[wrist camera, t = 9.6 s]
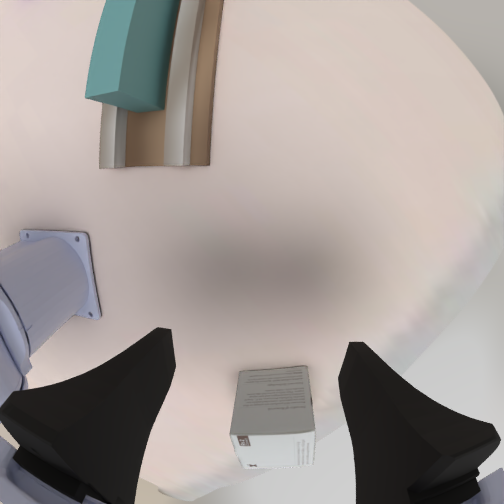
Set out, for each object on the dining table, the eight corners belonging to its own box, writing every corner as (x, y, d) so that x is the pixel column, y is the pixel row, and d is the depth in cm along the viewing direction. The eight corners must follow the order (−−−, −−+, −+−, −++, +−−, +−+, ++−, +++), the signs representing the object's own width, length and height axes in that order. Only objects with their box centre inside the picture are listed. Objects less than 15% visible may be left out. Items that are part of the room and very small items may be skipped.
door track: (106, 167, 18) (87, 170, 15) (137, -23, 12) (125, -36, 9) (209, 165, 17) (200, 165, 15) (229, -38, 12) (224, -55, 9)
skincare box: (308, 406, 24) (315, 466, 17) (248, 410, 24) (241, 470, 17) (307, 363, 22) (317, 431, 15) (237, 369, 22) (226, 436, 16)
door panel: (137, 112, 15) (84, 97, 10) (155, -3, 12) (122, -42, 6) (164, 110, 15) (118, 90, 10) (181, -8, 12) (153, -51, 6)
